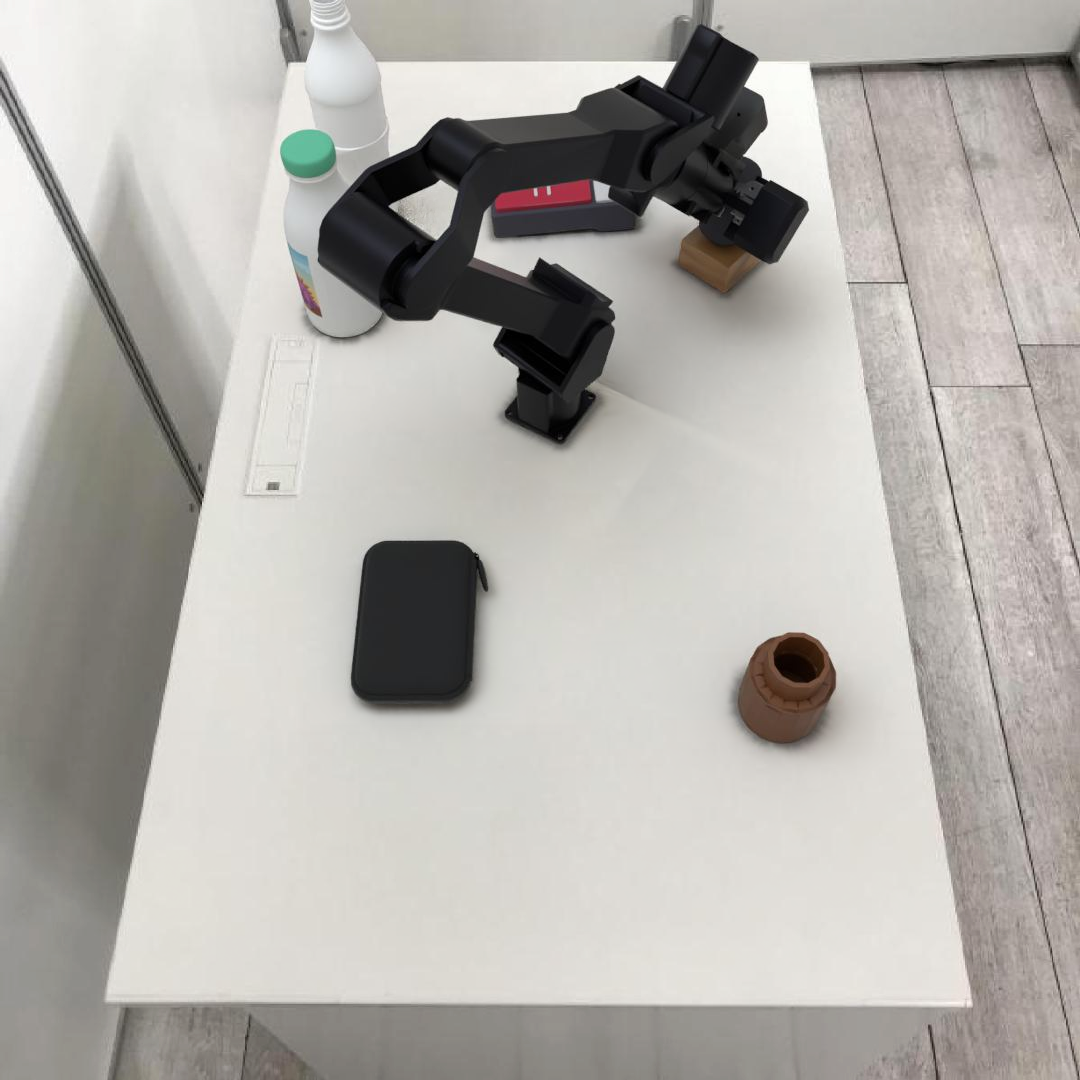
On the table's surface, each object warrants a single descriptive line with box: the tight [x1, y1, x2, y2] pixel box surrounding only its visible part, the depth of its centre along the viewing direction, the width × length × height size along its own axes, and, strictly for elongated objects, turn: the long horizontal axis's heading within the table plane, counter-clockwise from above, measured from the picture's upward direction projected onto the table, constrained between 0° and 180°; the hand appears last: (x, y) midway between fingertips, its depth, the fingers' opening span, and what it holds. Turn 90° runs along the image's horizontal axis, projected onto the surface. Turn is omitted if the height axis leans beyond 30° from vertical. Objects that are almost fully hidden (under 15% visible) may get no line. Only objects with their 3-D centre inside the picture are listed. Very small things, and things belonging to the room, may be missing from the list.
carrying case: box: [350, 539, 489, 704], centre depth 87 cm, size 11×3×15 cm
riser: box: [677, 224, 761, 294], centre depth 108 cm, size 6×6×4 cm
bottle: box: [737, 631, 837, 744], centre depth 81 cm, size 6×6×8 cm
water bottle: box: [303, 0, 401, 213], centre depth 103 cm, size 7×7×25 cm
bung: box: [698, 155, 763, 247], centre depth 103 cm, size 5×5×8 cm
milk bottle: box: [279, 128, 383, 338], centre depth 99 cm, size 8×8×20 cm
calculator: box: [490, 180, 637, 238], centre depth 113 cm, size 11×4×15 cm
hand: (736, 203), depth 104 cm, fingers closed on bung, 5 cm apart
